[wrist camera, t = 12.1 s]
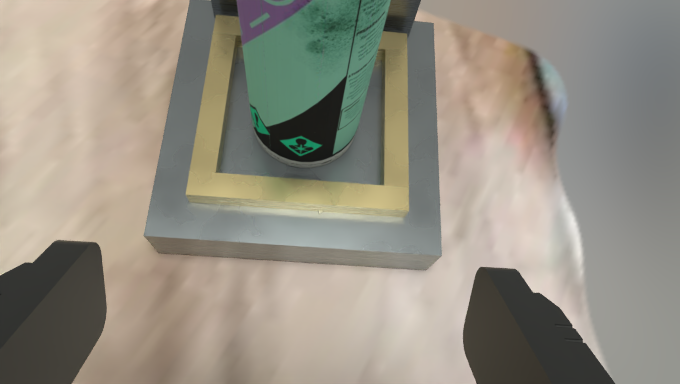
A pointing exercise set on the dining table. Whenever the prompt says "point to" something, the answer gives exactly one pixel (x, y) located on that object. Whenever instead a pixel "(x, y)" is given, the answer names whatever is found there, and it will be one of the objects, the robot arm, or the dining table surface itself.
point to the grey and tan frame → (294, 182)
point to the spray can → (309, 73)
